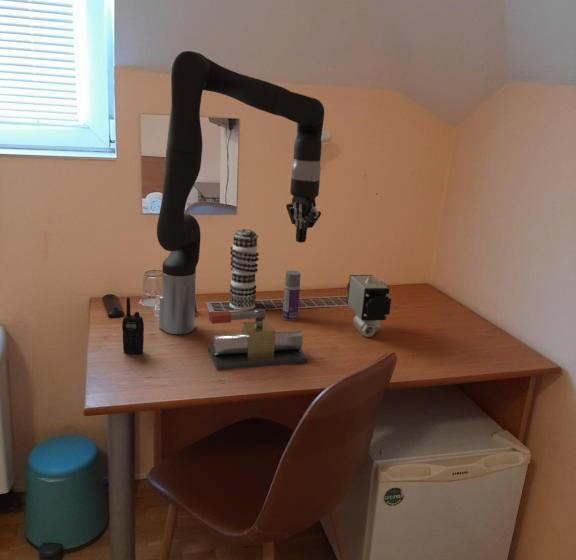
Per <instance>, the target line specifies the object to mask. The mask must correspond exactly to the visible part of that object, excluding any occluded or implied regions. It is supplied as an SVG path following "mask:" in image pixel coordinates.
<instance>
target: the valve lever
mask: <svg viewBox="0 0 576 560" xmlns="http://www.w3.org/2000/svg"><path fill="white" fill-rule="evenodd" d="M266 312H267V311H266V310H265V309H264V308H255V309H254V308H253V310H242V311H234V312H233V311H232V312H230V311H229V310H219V311H209V312H208V321H209V322H210V324H212V325H215V324H227V323H232V321H239V320H241V321H243V320H252V319H254V320H255V319H256V320H263V321H264V320H265V319H266Z"/></svg>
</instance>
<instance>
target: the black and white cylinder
mask: <svg viewBox="0 0 576 560" xmlns="http://www.w3.org/2000/svg"><path fill="white" fill-rule="evenodd" d="M232 237H233V244H232V246H230V251H229V252H230V255H231V256H230V261H229V262H230V264H229V265H230V266H231V267H230V272H231V274H232V275H231V282H230V285H229V288H230V289H229V292H230V294H229V300H228V301H229V307H230V308H231V309H234V310H238V311H251V310H254V308H256V297H257V296H256V294H257V290H256V289H257V285H256V274H257V273H258V268H257V267H259V264H258V263H257V262H258V261H259V259H260V258H259V256H260V254H259V252H257V251H258V238H259V235H258V234H257V233H256V231H254V230H251V229H247V228H246V229H238V230H236V231H235V233H233V234H232Z"/></svg>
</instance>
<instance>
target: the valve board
mask: <svg viewBox="0 0 576 560" xmlns="http://www.w3.org/2000/svg"><path fill="white" fill-rule="evenodd" d="M241 328H242V331H241V333H237V334H235V333H234V334H218V335H213V336H212V337H213V338H212V344H208V346H207V347H208V348H207V351H208V353H209V356H210V358H211V360H212V362H213V365H214V367H215V370H216V371H219V370H220V371H221V370H222V371H223V370H233V369H235V370H236V369H246V368H247V369H248V368H259V367H260V368H261V367H263V368H264V367H272V366H273V367H274V366H275V367H276V366H290V365H301V364H303V365H304V364H308V361H309V358H308V356H307V355H306V354H305V353H304V351H303V350H302V348H303V336H302V332H301V331H300V330H294V331H293V330H291V331H289V330H288V331H276V329H274V327H273V326H272V325H271V323H270V321H267V320H266V321H264V319H263V320H256V319H254V321H247V322H245V321H243V322H242V327H241Z"/></svg>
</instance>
